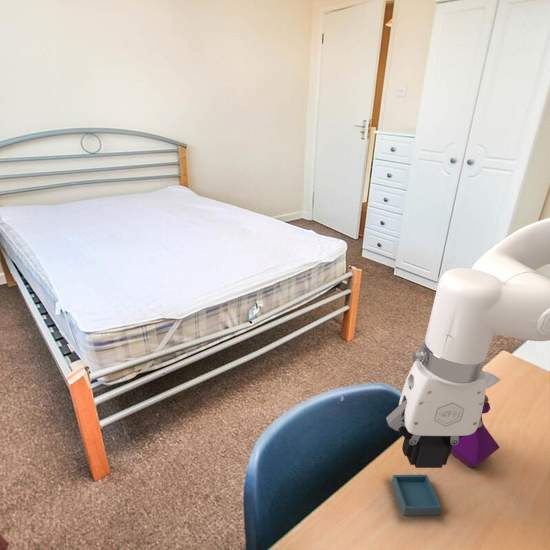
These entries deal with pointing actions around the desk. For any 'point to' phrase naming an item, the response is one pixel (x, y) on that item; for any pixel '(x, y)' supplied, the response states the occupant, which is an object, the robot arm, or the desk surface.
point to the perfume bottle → (477, 437)
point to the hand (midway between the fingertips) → (424, 456)
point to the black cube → (431, 452)
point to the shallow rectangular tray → (415, 495)
